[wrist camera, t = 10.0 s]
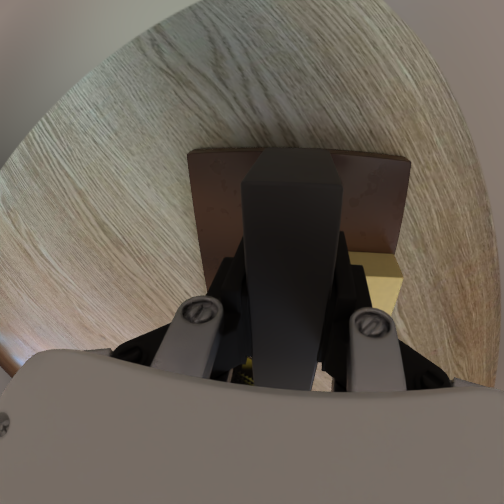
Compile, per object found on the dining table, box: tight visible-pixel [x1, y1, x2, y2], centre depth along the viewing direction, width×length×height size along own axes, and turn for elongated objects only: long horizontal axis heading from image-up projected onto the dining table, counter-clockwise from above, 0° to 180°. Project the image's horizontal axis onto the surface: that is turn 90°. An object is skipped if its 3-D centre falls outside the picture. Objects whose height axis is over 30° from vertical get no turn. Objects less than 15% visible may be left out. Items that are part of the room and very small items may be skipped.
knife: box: [240, 148, 344, 391], centre depth 13 cm, size 20×2×4 cm, turn 3°
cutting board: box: [187, 147, 411, 292], centre depth 24 cm, size 20×16×2 cm
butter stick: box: [348, 251, 403, 316], centre depth 21 cm, size 5×7×3 cm
